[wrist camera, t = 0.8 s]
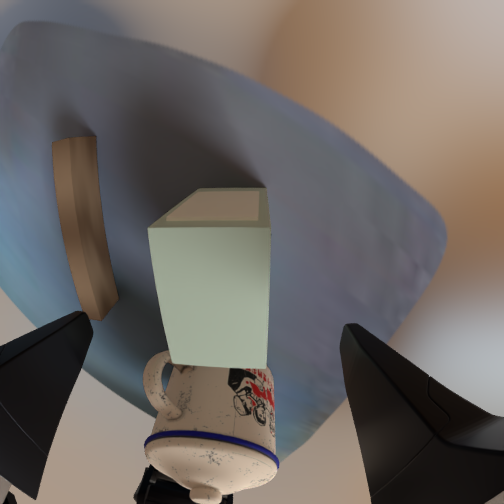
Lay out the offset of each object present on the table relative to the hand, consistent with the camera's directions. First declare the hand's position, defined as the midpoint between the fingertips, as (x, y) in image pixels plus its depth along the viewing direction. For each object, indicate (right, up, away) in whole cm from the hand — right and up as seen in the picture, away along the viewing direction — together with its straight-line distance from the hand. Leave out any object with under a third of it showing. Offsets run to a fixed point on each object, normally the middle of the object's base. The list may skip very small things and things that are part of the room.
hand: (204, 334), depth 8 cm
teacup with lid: (-2, -7, +13) cm, 15 cm away
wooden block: (-9, +5, +8) cm, 13 cm away
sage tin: (0, +4, +9) cm, 9 cm away
